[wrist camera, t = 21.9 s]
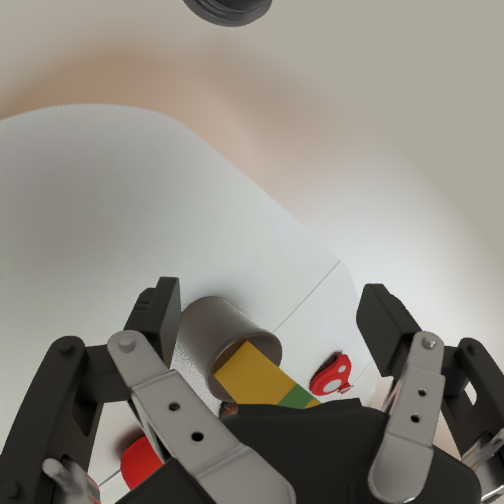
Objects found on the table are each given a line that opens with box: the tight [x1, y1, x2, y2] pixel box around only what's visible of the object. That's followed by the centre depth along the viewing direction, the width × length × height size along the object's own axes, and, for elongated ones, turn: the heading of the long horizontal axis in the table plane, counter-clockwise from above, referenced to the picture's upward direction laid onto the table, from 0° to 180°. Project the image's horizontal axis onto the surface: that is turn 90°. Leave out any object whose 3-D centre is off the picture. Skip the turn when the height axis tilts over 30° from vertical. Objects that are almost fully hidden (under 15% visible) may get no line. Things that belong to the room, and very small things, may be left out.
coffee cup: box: [177, 296, 282, 402], centre depth 32 cm, size 10×9×9 cm
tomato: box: [120, 436, 163, 490], centre depth 32 cm, size 12×12×10 cm
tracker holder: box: [310, 354, 354, 396], centre depth 54 cm, size 12×4×10 cm
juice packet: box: [214, 341, 322, 409], centre depth 23 cm, size 5×6×13 cm
